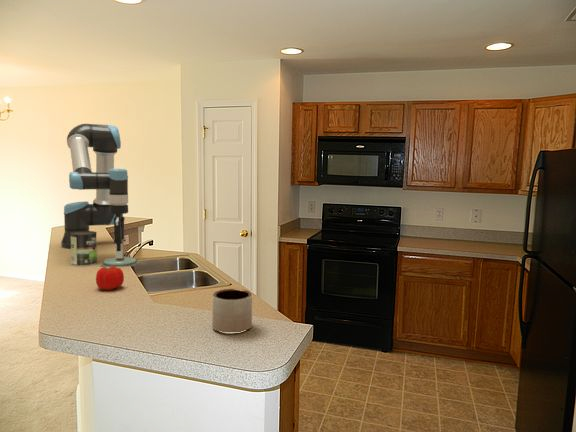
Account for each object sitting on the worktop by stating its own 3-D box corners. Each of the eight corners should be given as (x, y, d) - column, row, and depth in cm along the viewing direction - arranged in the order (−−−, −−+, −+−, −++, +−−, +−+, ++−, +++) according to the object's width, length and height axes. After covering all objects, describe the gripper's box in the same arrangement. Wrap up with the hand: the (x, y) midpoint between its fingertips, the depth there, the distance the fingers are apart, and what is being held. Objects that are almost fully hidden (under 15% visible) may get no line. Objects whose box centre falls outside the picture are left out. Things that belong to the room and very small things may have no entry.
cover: (107, 259, 190) (106, 237, 189) (137, 258, 193) (137, 237, 192) (101, 266, 177) (100, 242, 176) (133, 265, 180) (133, 242, 179)
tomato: (128, 287, 150) (128, 267, 149) (106, 293, 143) (106, 272, 142) (111, 283, 155) (111, 263, 154) (89, 289, 147) (89, 268, 147)
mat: (106, 260, 190) (106, 259, 190) (138, 260, 193) (138, 258, 193) (99, 268, 177) (99, 266, 177) (134, 267, 180) (134, 265, 180)
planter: (204, 326, 116) (204, 293, 114) (235, 317, 123) (236, 286, 122) (227, 339, 108) (228, 303, 107) (259, 328, 115) (260, 294, 114)
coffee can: (102, 262, 187) (101, 231, 185) (87, 268, 177) (86, 235, 175) (82, 261, 189) (81, 230, 187) (65, 266, 179) (64, 233, 177)
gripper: (112, 202, 189) (114, 253, 192) (106, 206, 173) (107, 261, 176) (130, 202, 191) (131, 253, 194) (125, 206, 175) (126, 261, 178)
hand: (119, 257), depth 185 cm, fingers closed on cover, 3 cm apart
